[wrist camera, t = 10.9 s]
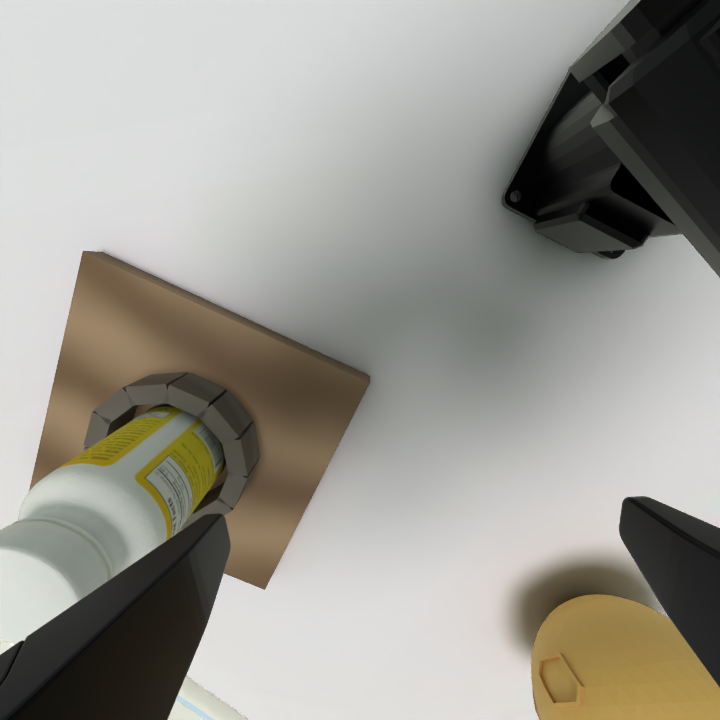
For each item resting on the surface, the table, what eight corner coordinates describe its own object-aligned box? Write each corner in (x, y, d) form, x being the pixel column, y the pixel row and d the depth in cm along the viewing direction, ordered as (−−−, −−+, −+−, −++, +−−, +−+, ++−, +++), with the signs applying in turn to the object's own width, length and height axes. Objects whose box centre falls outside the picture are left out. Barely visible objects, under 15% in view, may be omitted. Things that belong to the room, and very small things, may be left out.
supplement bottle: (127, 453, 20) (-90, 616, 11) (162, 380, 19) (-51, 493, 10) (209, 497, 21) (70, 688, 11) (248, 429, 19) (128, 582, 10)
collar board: (101, 251, 18) (46, 249, 15) (369, 376, 20) (368, 397, 16) (46, 482, 23) (-7, 516, 20) (270, 573, 24) (254, 619, 21)
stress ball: (621, 535, 23) (554, 610, 16) (843, 713, 16) (869, 947, 10) (544, 617, 27) (468, 701, 21) (695, 784, 20) (649, 979, 14)
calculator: (56, 574, 25) (31, 598, 24) (259, 716, 29) (251, 747, 27) (-25, 661, 28) (-53, 688, 27) (167, 781, 31) (154, 813, 30)
